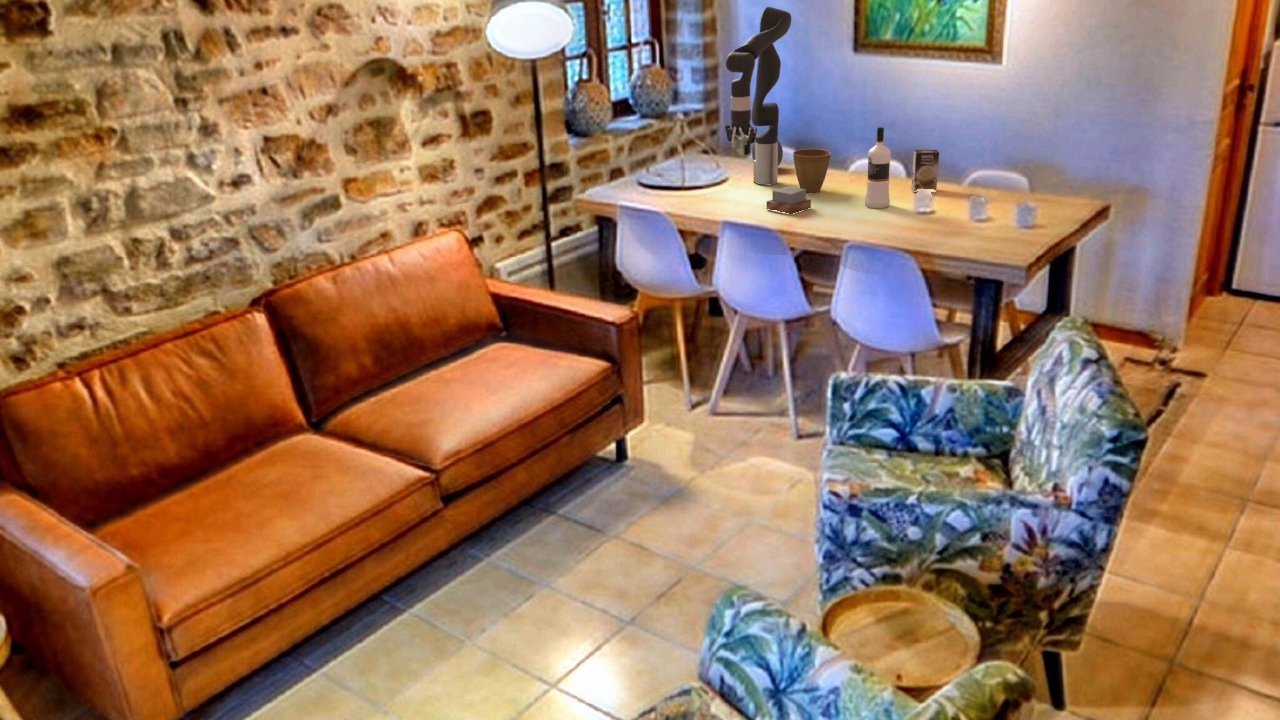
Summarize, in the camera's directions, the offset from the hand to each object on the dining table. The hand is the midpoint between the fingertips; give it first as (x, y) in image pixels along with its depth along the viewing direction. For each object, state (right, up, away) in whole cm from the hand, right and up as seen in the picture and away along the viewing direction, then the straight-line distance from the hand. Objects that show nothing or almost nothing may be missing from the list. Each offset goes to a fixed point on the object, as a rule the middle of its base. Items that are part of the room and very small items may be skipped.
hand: (741, 153), depth 403 cm
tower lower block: (+19, -21, +7) cm, 29 cm away
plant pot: (+31, -10, +31) cm, 45 cm away
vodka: (+53, -19, +6) cm, 56 cm away
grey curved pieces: (+18, +6, +70) cm, 72 cm away
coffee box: (+75, -11, +24) cm, 80 cm away
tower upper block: (+19, -17, +5) cm, 26 cm away
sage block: (0, -1, 0) cm, 1 cm away
